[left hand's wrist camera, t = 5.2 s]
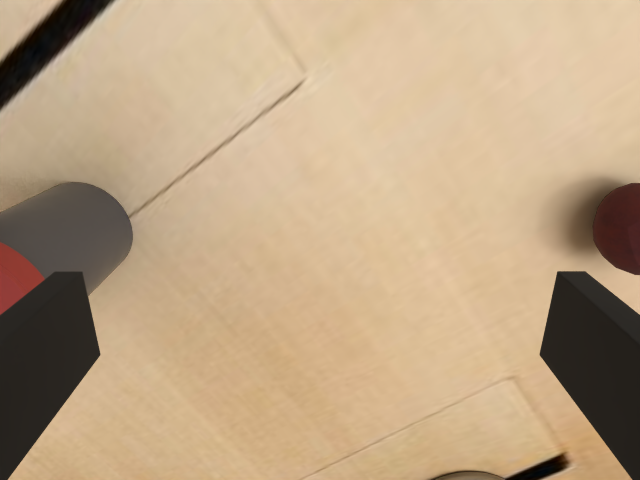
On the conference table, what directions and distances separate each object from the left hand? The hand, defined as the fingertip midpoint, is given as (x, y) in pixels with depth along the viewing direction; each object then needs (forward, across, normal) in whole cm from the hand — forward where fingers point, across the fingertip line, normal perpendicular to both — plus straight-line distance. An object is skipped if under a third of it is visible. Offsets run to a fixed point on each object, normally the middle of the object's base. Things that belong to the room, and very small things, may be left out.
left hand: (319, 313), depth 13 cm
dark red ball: (+28, +27, -6) cm, 39 cm away
